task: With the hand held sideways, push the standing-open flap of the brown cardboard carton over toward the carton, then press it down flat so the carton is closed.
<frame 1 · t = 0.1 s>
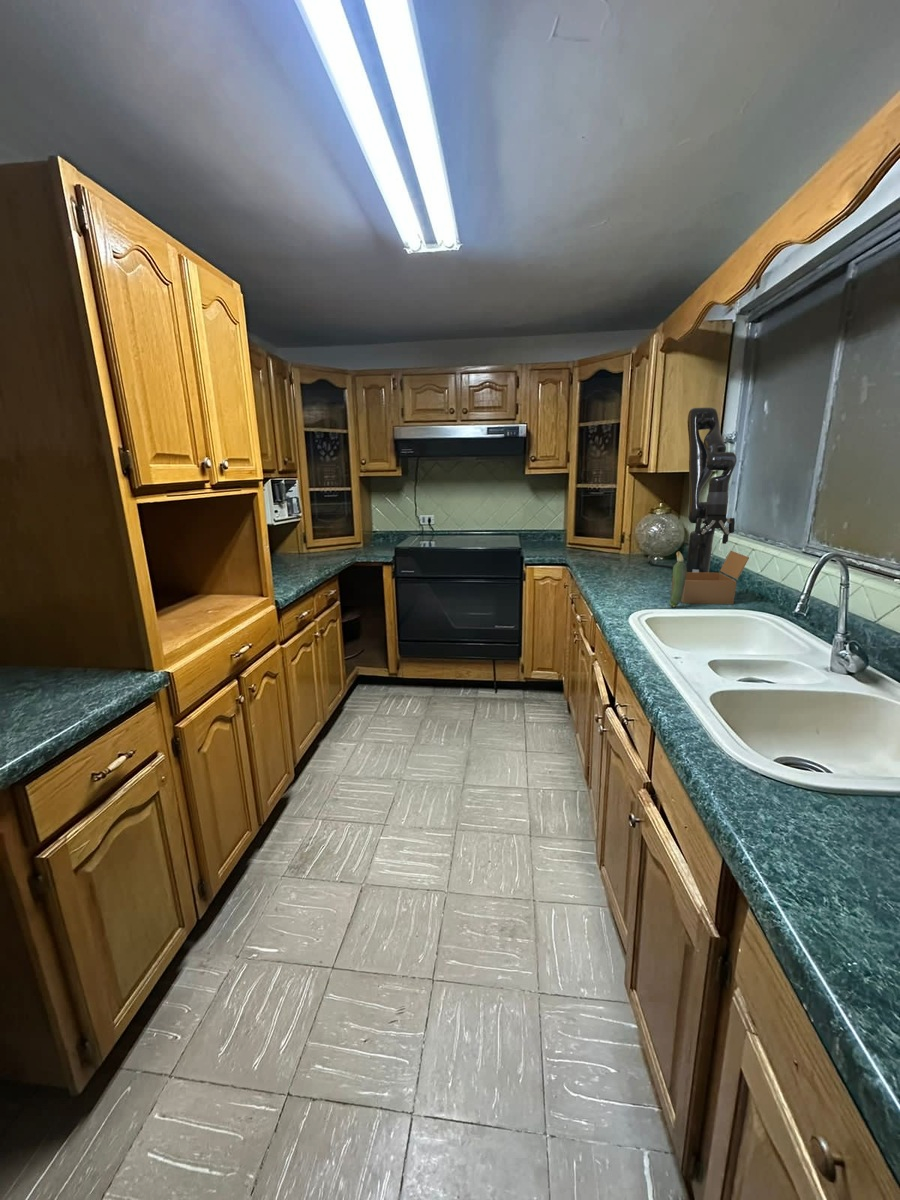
hand: (713, 543, 198), 17 cm above the counter, tool pointing down, fingers open, 8 cm apart
flap: (734, 564, 176), point 13 cm above the counter, hinge at 110.0°
vegetable: (675, 608, 169), on the counter
carton: (700, 598, 180), on the counter
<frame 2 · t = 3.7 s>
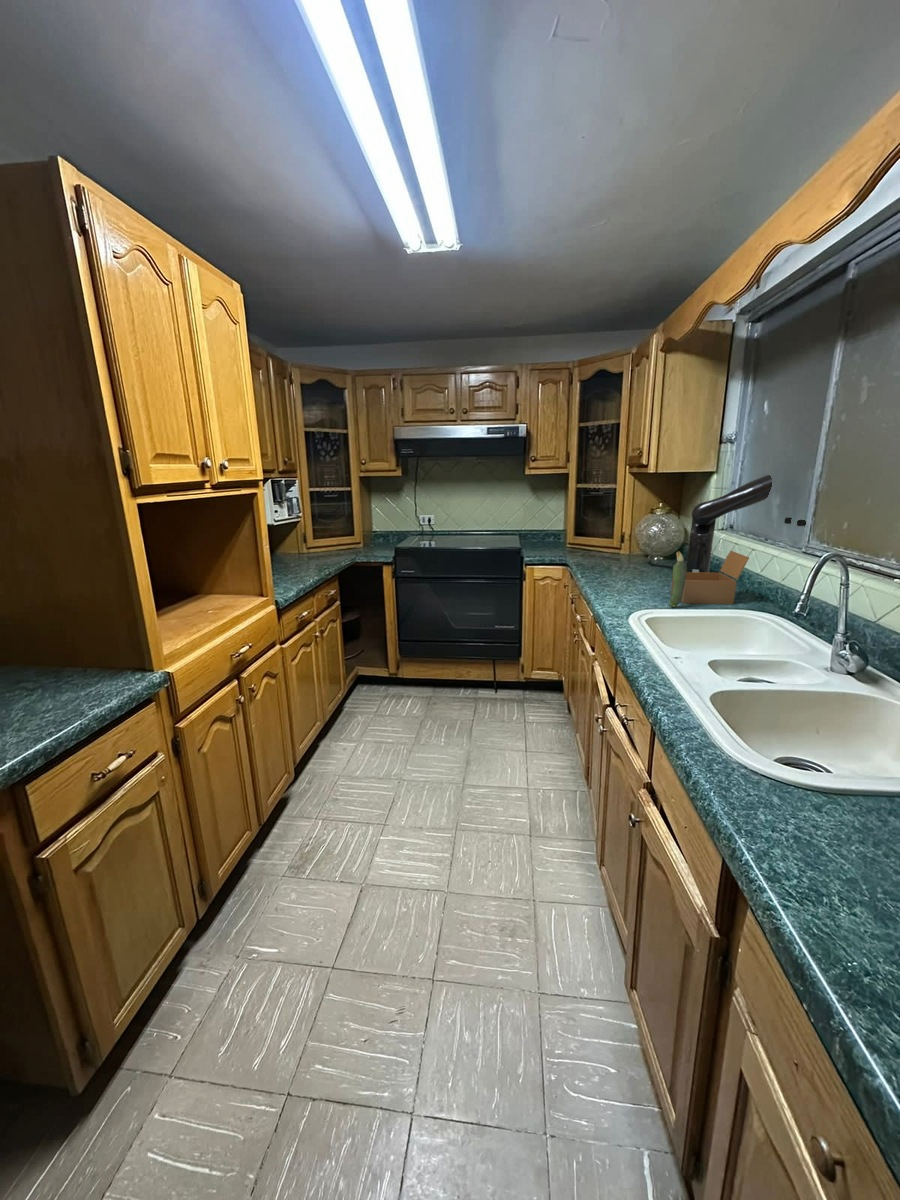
hand: (791, 521, 173), 28 cm above the counter, tool horizontal, fingers open, 8 cm apart
nothing on the counter moved.
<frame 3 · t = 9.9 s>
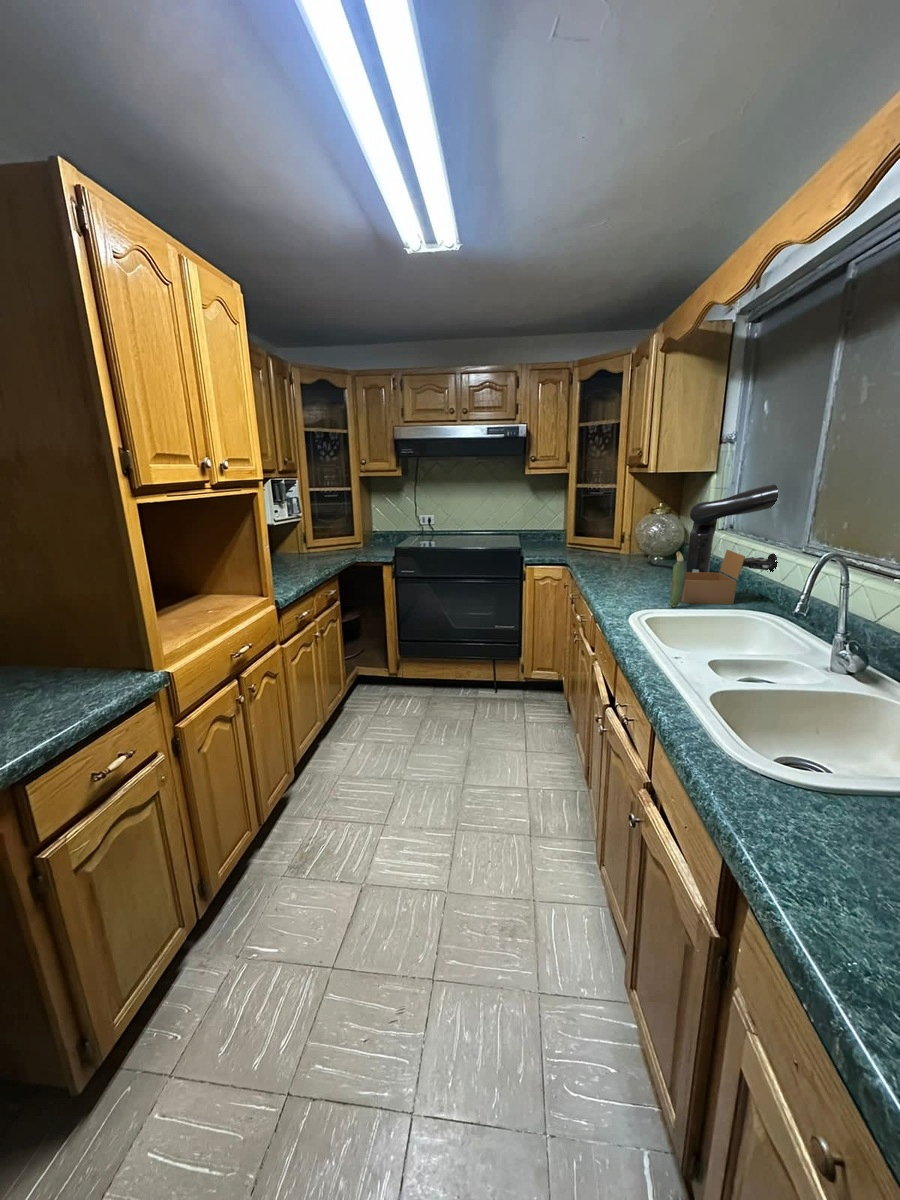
hand: (733, 563, 176), 14 cm above the counter, tool horizontal, fingers closed
flap: (732, 563, 176), point 13 cm above the counter, hinge at 100.1°, touching gripper
everything else where it was.
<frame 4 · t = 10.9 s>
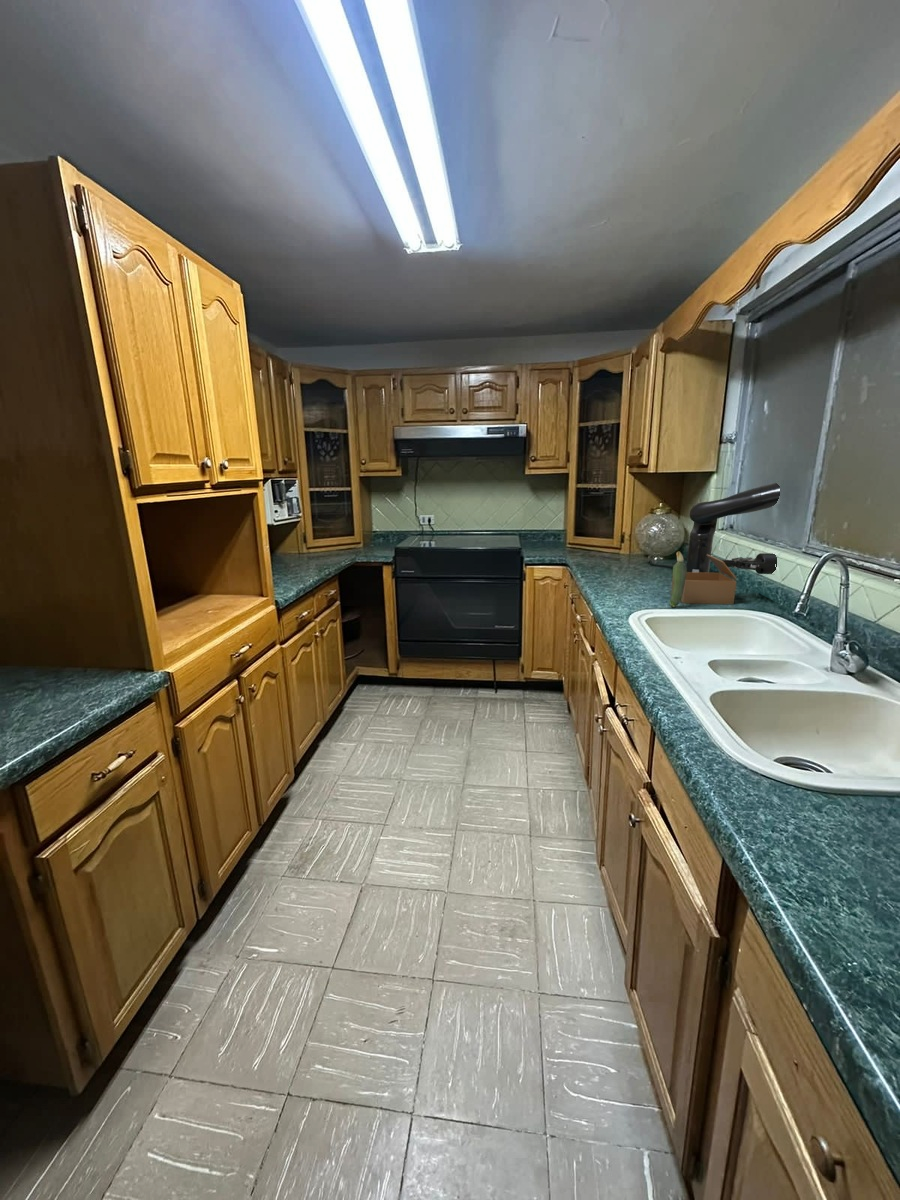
hand: (721, 563, 176), 13 cm above the counter, tool horizontal, fingers closed
flap: (721, 566, 177), point 12 cm above the counter, hinge at 49.0°, touching gripper
everything else where it was.
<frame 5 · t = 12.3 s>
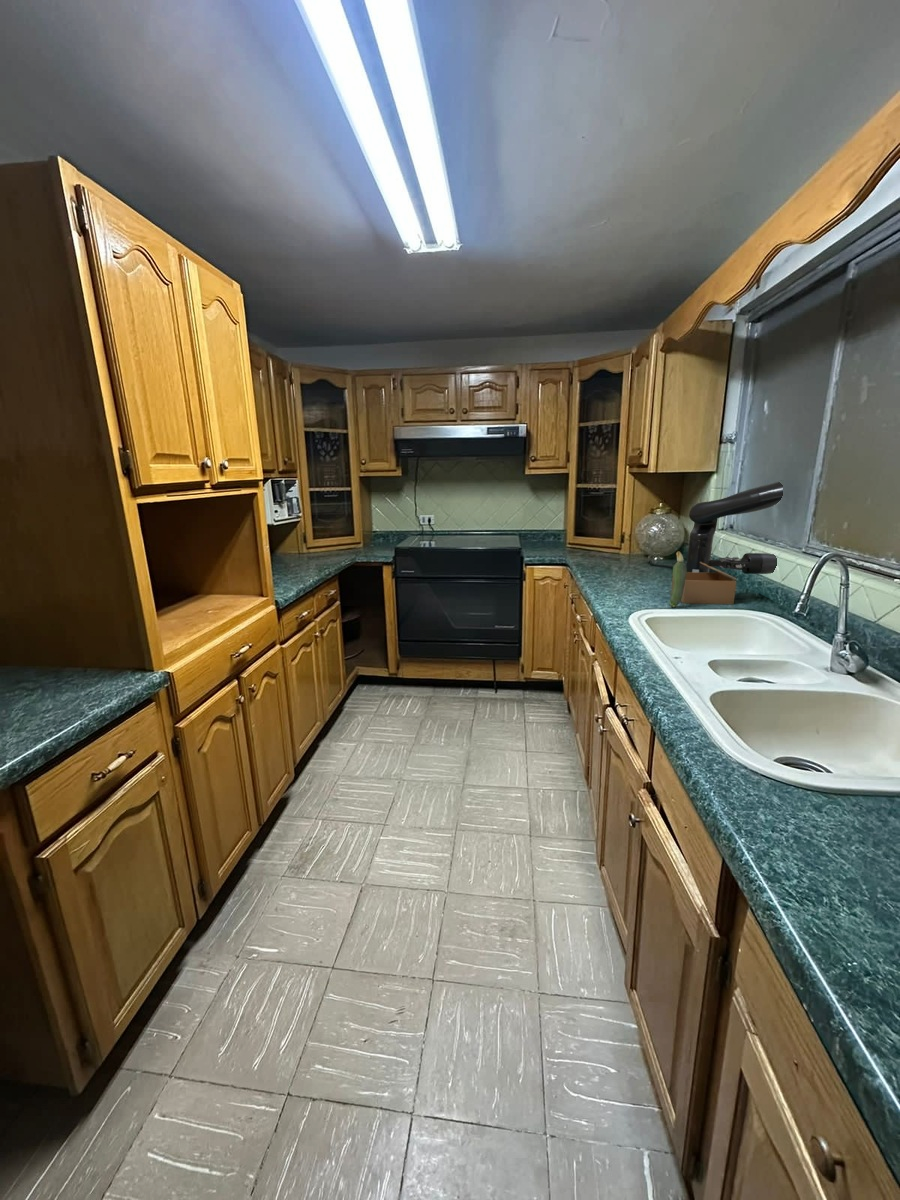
hand: (708, 563, 177), 14 cm above the counter, tool horizontal, fingers closed
flap: (717, 570, 177), point 11 cm above the counter, hinge at 23.7°, touching gripper
everything else where it was.
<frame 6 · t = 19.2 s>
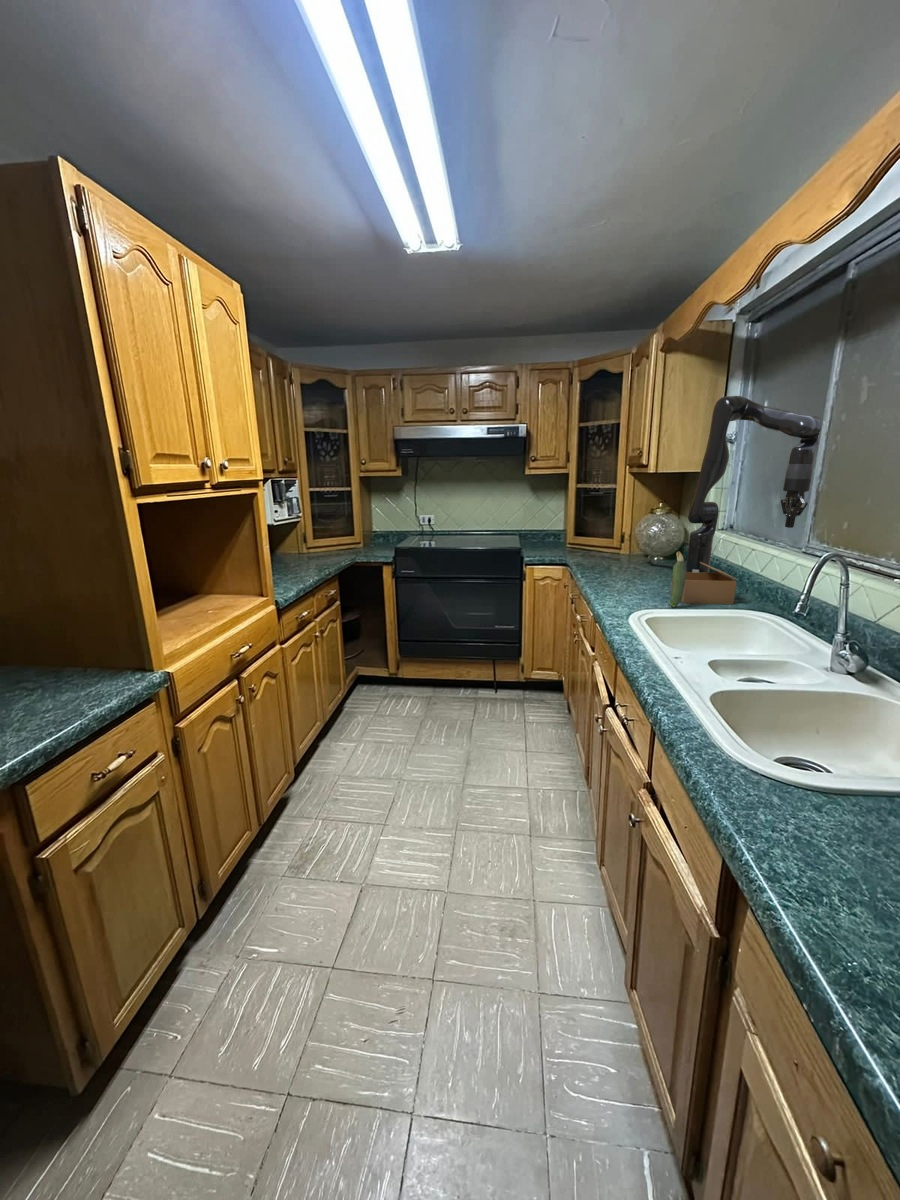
hand: (789, 527, 172), 26 cm above the counter, tool pointing down, fingers closed
flap: (717, 570, 177), point 11 cm above the counter, hinge at 23.7°
everything else where it was.
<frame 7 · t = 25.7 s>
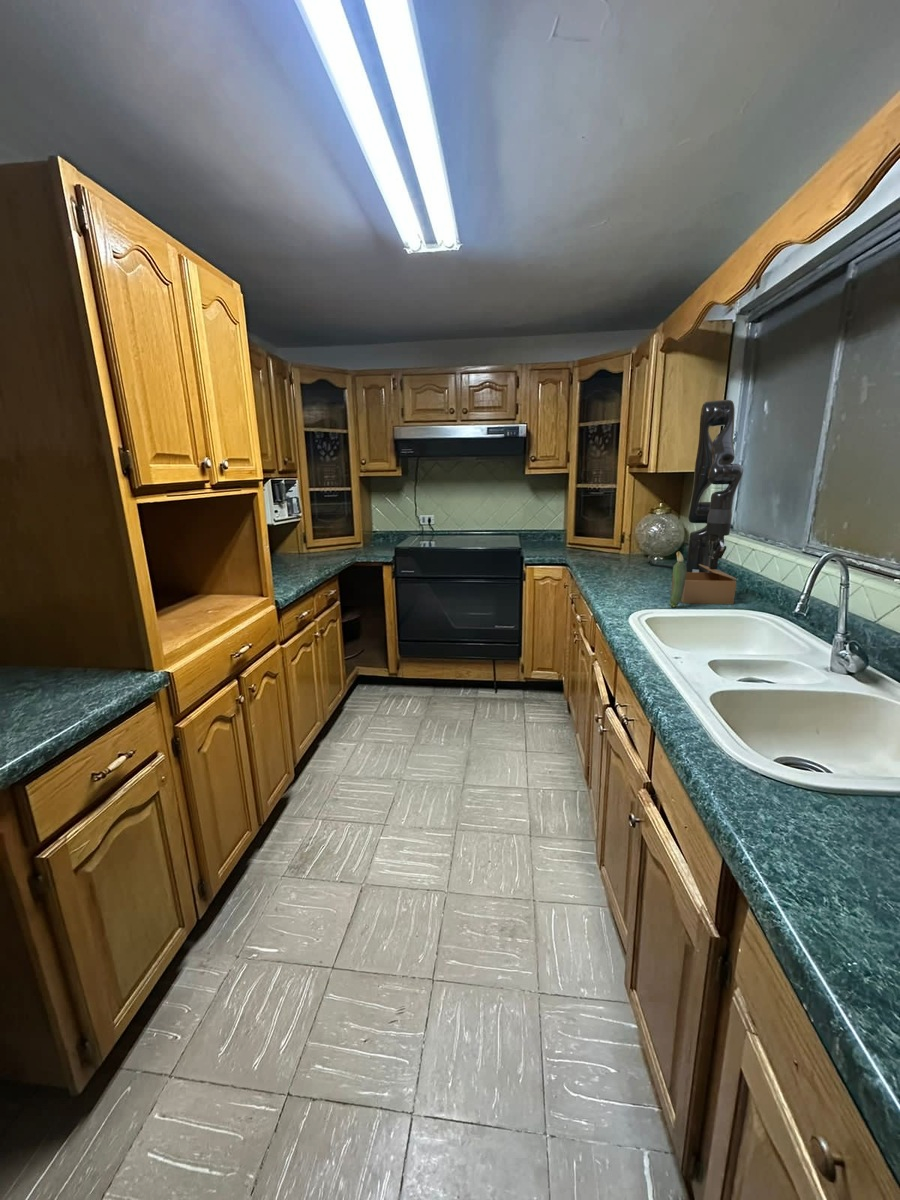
hand: (712, 569, 177), 11 cm above the counter, tool pointing down, fingers closed
flap: (716, 571, 177), point 10 cm above the counter, hinge at 17.5°, touching gripper
everything else where it was.
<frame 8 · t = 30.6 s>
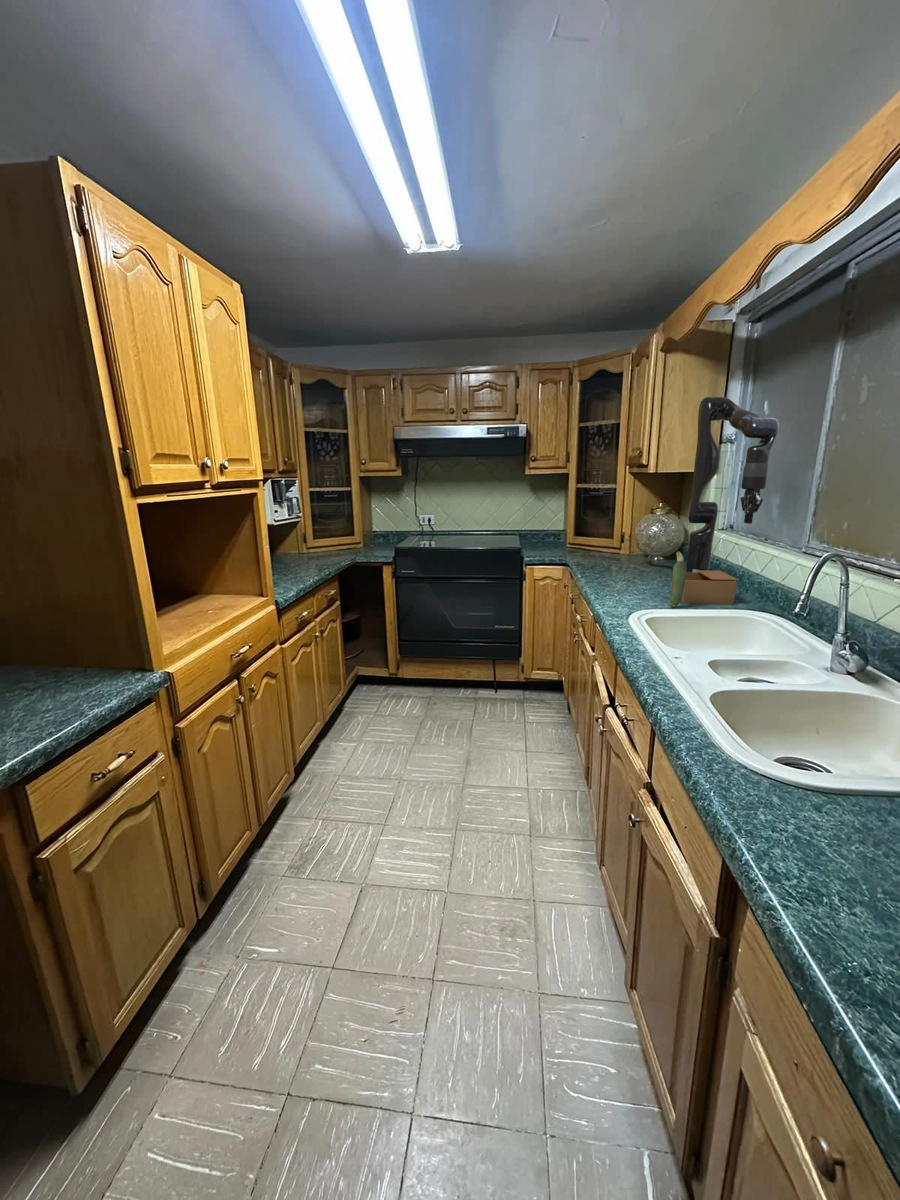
hand: (747, 523, 181), 27 cm above the counter, tool pointing down, fingers closed
flap: (715, 574, 178), point 9 cm above the counter, hinge at 0.1°
everything else where it was.
at the end: flap at +0° (first picture: +110°); vegetable moved 0.2 cm from its start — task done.
